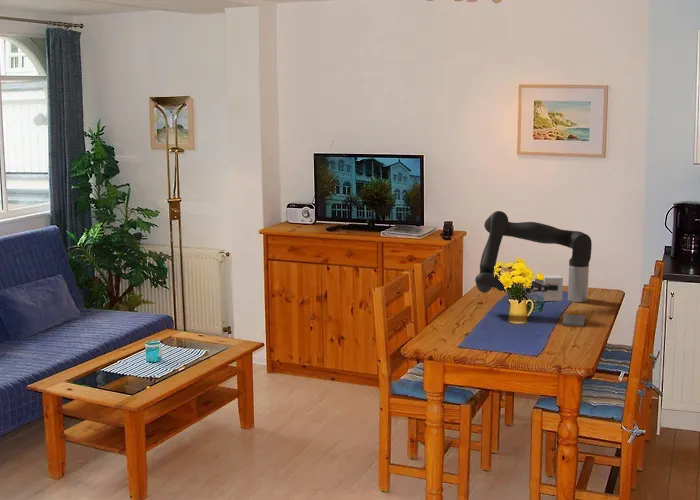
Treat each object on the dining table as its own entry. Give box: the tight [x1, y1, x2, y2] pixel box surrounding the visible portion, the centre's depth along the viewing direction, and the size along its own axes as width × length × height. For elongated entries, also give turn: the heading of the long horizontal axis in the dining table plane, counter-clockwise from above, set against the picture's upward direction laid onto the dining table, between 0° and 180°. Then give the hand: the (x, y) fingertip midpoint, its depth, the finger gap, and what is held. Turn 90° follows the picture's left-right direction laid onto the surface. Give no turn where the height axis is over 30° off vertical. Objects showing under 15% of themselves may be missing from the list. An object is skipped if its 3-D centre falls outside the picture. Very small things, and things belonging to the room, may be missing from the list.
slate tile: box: [561, 313, 586, 327], centre depth 379 cm, size 14×9×1 cm, turn 163°
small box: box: [542, 274, 564, 302], centre depth 384 cm, size 8×6×10 cm
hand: (558, 286), depth 383 cm, fingers closed on small box, 6 cm apart
